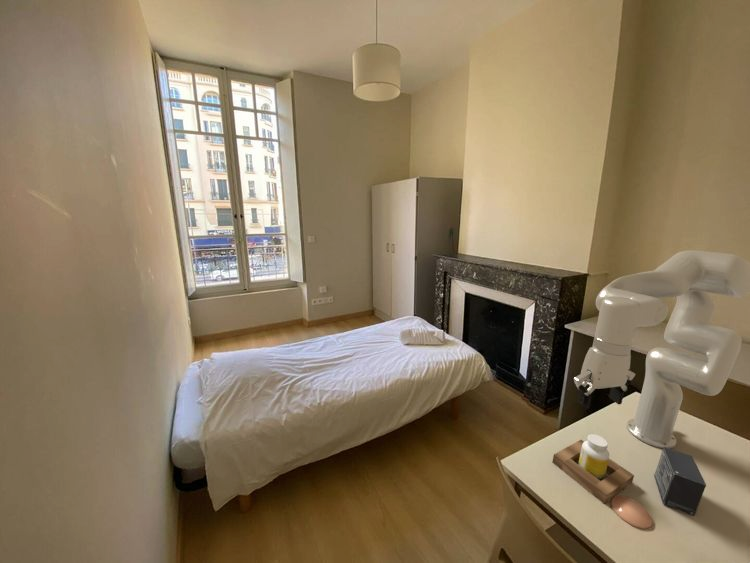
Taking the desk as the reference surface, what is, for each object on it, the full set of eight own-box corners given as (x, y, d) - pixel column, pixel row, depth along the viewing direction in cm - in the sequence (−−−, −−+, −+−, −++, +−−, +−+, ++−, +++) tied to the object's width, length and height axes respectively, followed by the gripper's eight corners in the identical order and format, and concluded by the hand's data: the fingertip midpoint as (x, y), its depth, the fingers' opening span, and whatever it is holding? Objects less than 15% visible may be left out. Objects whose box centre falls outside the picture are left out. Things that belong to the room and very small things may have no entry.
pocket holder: (579, 447, 97) (581, 439, 97) (631, 483, 85) (634, 475, 84) (552, 462, 92) (553, 454, 91) (604, 503, 79) (606, 495, 78)
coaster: (621, 492, 82) (622, 491, 82) (658, 519, 75) (658, 517, 75) (604, 505, 79) (605, 503, 79) (641, 534, 72) (641, 532, 72)
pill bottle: (608, 484, 85) (617, 451, 81) (583, 480, 86) (590, 447, 83) (597, 465, 91) (604, 433, 88) (573, 461, 92) (580, 430, 89)
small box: (697, 518, 75) (708, 485, 73) (662, 505, 79) (672, 473, 76) (683, 485, 84) (693, 455, 81) (653, 474, 87) (661, 445, 85)
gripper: (626, 336, 80) (614, 391, 85) (569, 341, 78) (559, 397, 82) (656, 349, 73) (640, 408, 78) (594, 355, 71) (582, 416, 75)
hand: (599, 403), depth 80 cm, fingers open, 9 cm apart
